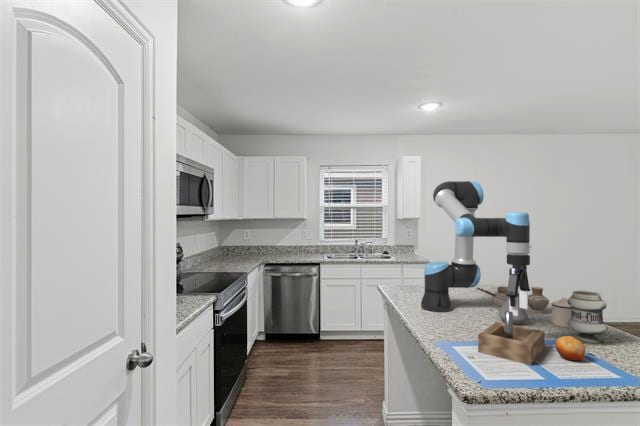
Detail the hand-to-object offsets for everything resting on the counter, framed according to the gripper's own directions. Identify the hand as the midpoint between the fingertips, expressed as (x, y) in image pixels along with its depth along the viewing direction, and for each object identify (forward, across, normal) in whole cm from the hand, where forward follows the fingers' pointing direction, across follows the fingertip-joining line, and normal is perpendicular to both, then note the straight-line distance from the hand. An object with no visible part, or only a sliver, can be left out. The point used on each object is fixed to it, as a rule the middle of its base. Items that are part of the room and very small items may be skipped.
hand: (518, 311), depth 129 cm
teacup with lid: (+12, +40, -8) cm, 42 cm away
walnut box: (+12, -8, 0) cm, 14 cm away
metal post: (+12, -12, 0) cm, 17 cm away
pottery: (+12, +52, +12) cm, 55 cm away
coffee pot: (+12, +25, +13) cm, 31 cm away
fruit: (+12, -3, -16) cm, 20 cm away
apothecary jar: (+12, +22, -18) cm, 31 cm away
